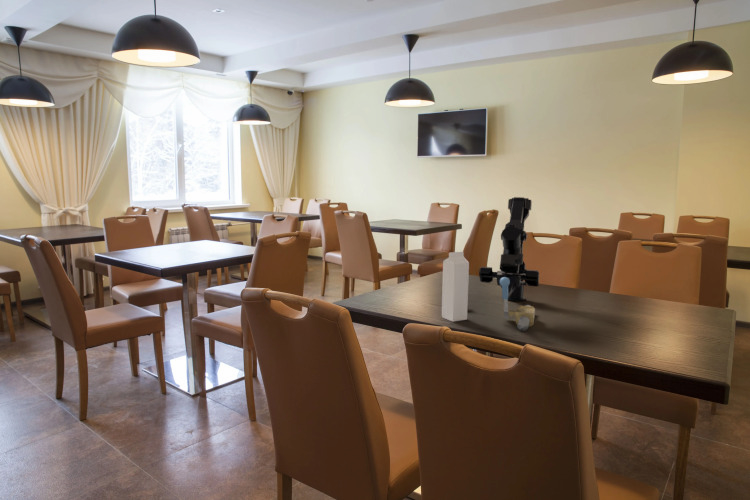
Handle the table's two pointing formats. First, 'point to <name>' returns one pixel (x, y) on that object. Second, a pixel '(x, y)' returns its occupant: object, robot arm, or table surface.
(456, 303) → the milk
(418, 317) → the table surface
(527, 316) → the valve
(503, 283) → the lever
